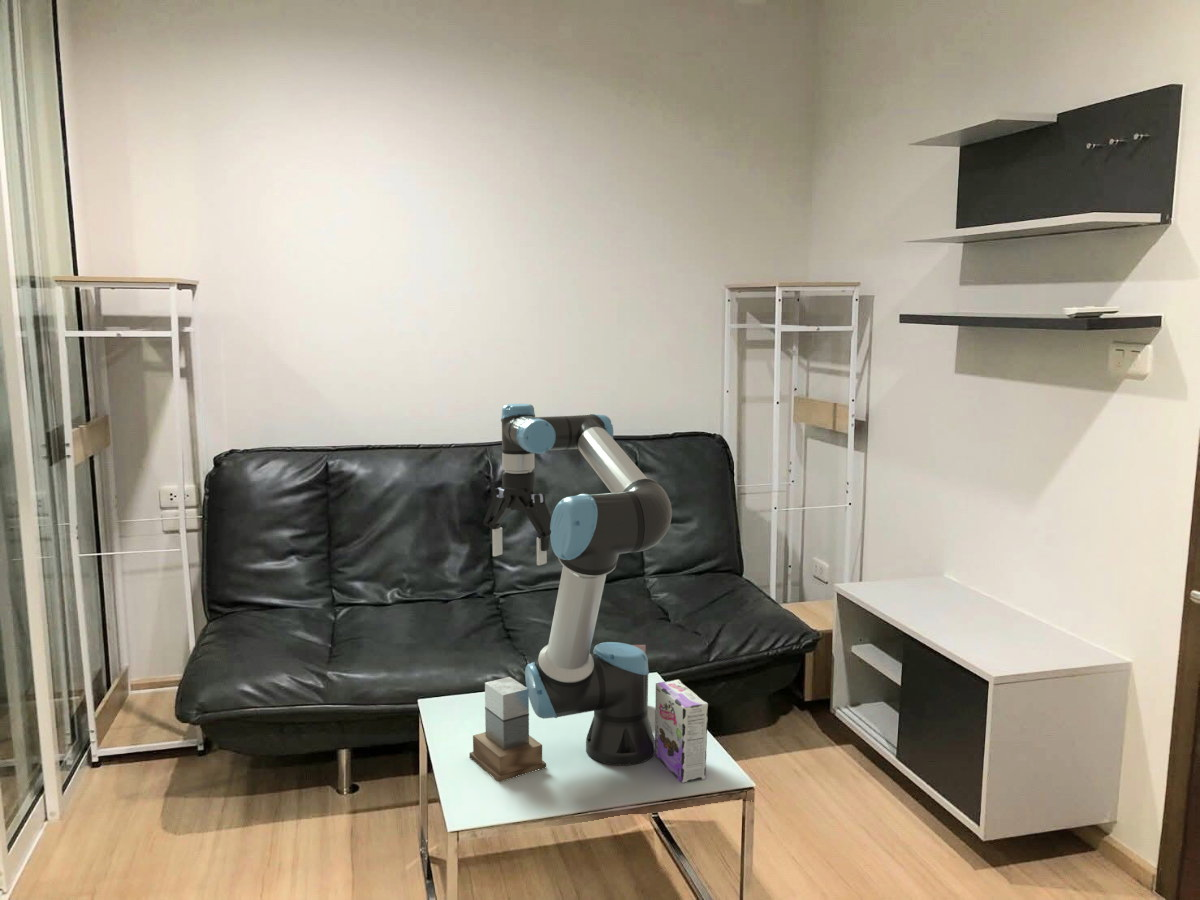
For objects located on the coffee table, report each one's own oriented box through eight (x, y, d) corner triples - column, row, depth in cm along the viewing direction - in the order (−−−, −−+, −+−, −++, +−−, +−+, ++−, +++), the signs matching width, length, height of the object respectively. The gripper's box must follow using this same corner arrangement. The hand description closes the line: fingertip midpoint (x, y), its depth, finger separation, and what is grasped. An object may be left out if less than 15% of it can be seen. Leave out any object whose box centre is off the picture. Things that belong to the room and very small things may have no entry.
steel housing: (510, 729, 207) (509, 676, 205) (529, 743, 200) (528, 688, 198) (485, 736, 203) (484, 682, 202) (503, 750, 197) (503, 695, 195)
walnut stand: (515, 744, 211) (515, 722, 210) (546, 767, 200) (546, 745, 199) (469, 757, 205) (469, 735, 204) (498, 782, 194) (498, 759, 193)
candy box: (653, 754, 206) (654, 681, 204) (678, 750, 208) (679, 678, 206) (681, 784, 194) (682, 706, 191) (707, 779, 196) (709, 702, 193)
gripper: (571, 473, 217) (571, 564, 221) (489, 463, 232) (490, 548, 235) (550, 478, 211) (550, 571, 215) (467, 467, 226) (469, 554, 229)
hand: (519, 559), depth 225 cm, fingers open, 13 cm apart
